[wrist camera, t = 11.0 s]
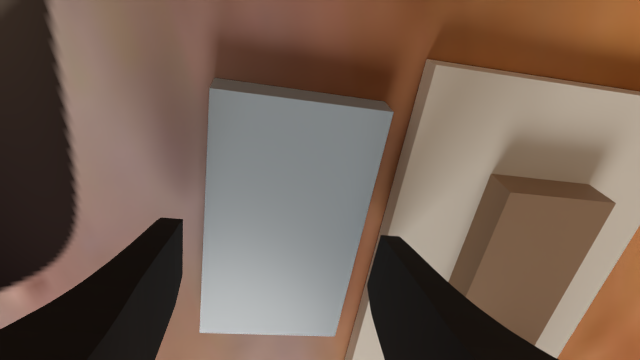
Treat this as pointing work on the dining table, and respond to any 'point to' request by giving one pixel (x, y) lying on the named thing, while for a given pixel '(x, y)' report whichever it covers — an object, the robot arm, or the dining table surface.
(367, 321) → the latch box
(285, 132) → the cover
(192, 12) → the dining table surface
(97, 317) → the robot arm
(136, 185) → the dining table surface
